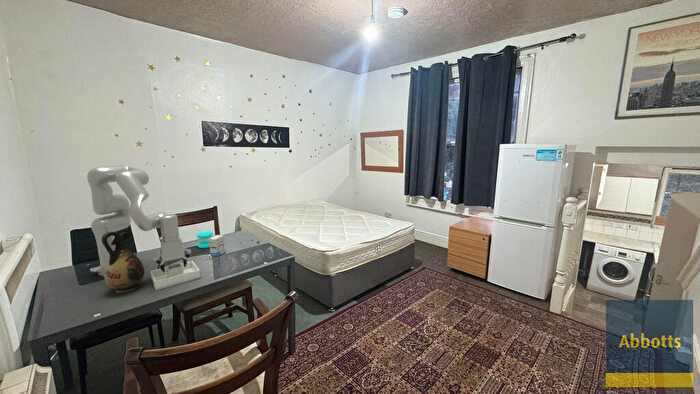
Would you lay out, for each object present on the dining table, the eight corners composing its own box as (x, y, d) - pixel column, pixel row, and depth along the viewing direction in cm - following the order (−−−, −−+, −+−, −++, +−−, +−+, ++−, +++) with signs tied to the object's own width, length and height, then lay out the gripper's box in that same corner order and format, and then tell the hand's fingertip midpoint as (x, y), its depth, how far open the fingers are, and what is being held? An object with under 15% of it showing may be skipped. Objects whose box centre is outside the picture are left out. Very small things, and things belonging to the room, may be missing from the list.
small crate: (169, 280, 144) (168, 270, 143) (167, 276, 149) (166, 265, 148) (184, 277, 148) (182, 266, 147) (181, 272, 153) (180, 262, 152)
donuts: (193, 235, 188) (200, 230, 198) (195, 249, 190) (202, 244, 200) (208, 234, 189) (215, 230, 199) (210, 248, 191) (216, 243, 201)
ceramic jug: (133, 278, 149) (125, 224, 143) (153, 283, 143) (145, 227, 137) (95, 294, 133) (84, 234, 127) (115, 301, 127) (105, 238, 122)
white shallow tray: (155, 290, 136) (154, 282, 136) (151, 278, 148) (150, 271, 147) (200, 278, 149) (199, 270, 149) (193, 268, 161) (192, 260, 160)
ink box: (216, 256, 177) (215, 239, 175) (209, 256, 178) (208, 238, 176) (225, 251, 185) (223, 235, 183) (218, 251, 186) (217, 234, 184)
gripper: (151, 243, 136) (155, 276, 139) (191, 236, 147) (194, 266, 151) (149, 239, 142) (153, 270, 145) (188, 232, 153) (191, 262, 156)
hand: (174, 268), depth 148 cm, fingers open, 9 cm apart
